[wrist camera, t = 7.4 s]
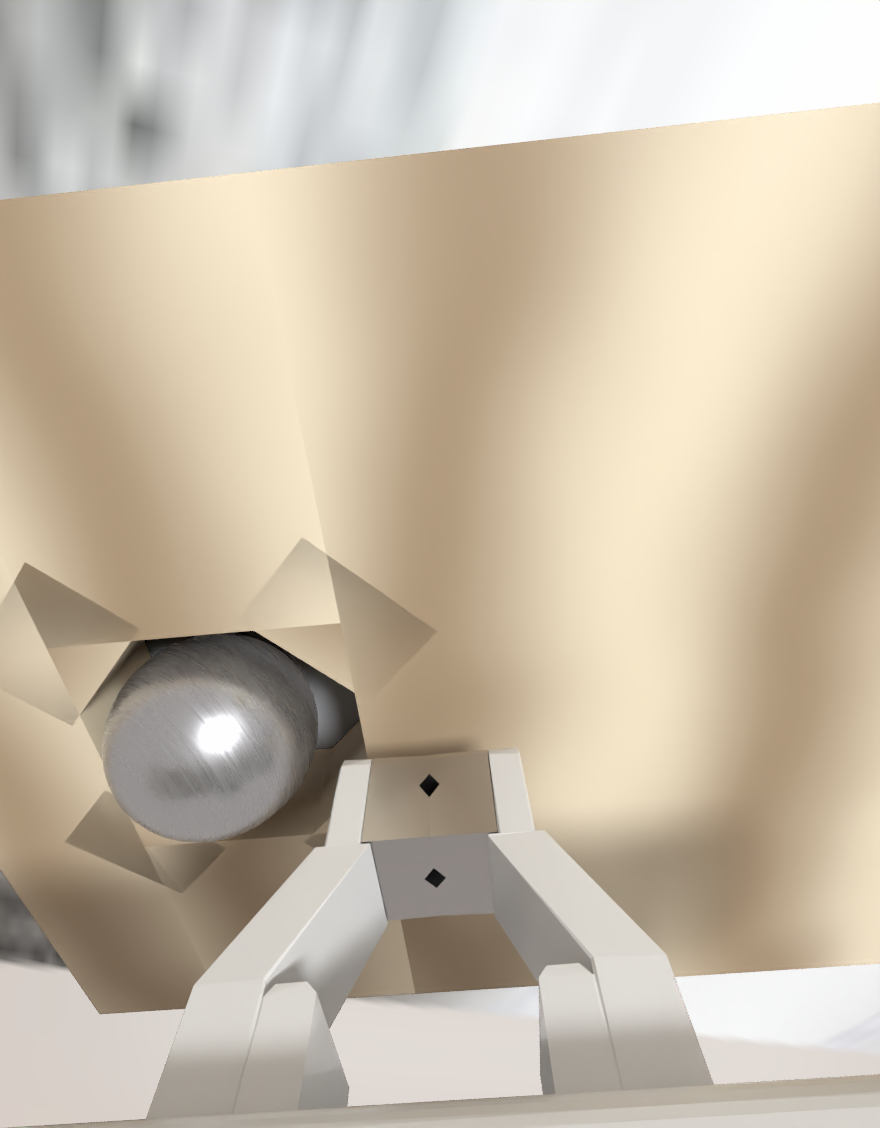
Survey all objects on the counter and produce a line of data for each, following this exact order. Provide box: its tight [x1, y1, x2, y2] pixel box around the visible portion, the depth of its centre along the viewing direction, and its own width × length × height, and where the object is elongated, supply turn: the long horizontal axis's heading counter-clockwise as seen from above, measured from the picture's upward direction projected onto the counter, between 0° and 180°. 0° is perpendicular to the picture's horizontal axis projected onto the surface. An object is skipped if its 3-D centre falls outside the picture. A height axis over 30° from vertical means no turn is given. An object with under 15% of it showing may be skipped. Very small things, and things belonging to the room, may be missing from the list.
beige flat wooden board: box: [0, 103, 880, 1014], centre depth 11 cm, size 26×18×2 cm
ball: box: [102, 633, 318, 843], centre depth 11 cm, size 4×4×4 cm
